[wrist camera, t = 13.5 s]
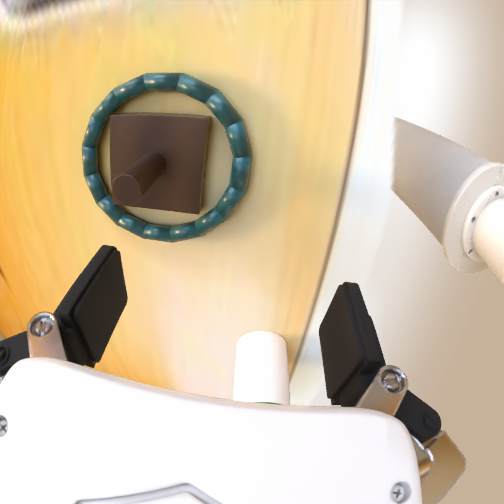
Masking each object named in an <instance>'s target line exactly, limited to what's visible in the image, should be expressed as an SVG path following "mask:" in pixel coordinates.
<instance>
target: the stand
mask: <svg viewBox="0 0 504 504" xmlns="http://www.w3.org/2000/svg"><path fill="white" fill-rule="evenodd" d="M210 118H211V117H210V116H201V115H188V114H171V113H115V114H112V115H110V168H111V187H112V201H113V205H123V206H132V207H141V208H150V209H159V210H167V211H175V212H184V213H191V214H199V213H200V211H201V208H202V198H203V186H204V175H205V164H206V154H207V144H208V135H209V127H210Z"/></svg>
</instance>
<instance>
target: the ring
mask: <svg viewBox="0 0 504 504" xmlns="http://www.w3.org/2000/svg"><path fill="white" fill-rule="evenodd" d="M148 90H166V91H179V92H181V93H184V94H186V95H188V96H190V97H192V98H194V99H196V100H198V101H200V102H202V103H204V104H206V105H207V107H208V108H209V109H210V110H211V111H212V113H213V114H214V115H215V116H216V117H217V119H218V120H219V121H220V122H221V123H222V125H223V126H224V127H225V129H226V133H227V136H228V140H229V143H230V147H231V150H232V153H233V162H232V170H231V178H230V184H229V186H228V188H227V189H226V191H225V192H224V194H223V196H222V197H221V199H220V201H219V202H218V204H217V206H216V207H215V208H213V209H212V210H210V211H209V212H208V213H206V214H205V215H203V216H202V217H201V218H199V219H198V220H196V221H193V222H189V223H185V224H181V225H177V226H173V227H171V226H163V225H155V224H148V223H146V222H144V221H142V220H140V219H138V218H136V217H134V216H132V215H130V214H128V213H126V212H125V211H124V210H123V209H122V208H121V207H120V206H119V205H113V201H112V197H111V196H110V195H109V194H108V192H107V190H106V187H105V185H104V183H103V180H102V178H101V176H100V173H99V171H98V152H97V145H98V142H99V139H100V136H101V133H102V130H103V127H104V125H105V122H106V120H107V119H108V118H109V117H110V115H112V114H113V112H114V111H115V110H116V109H117V108H118V107H119V106H120V105H121V104H122V103H123V102H124V101H126V100H128V99H130V98H132V97H135V96H137V95H139V94H141V93H144V92H146V91H148ZM82 157H83V171H84V177H85V180H86V182H87V184H88V186H89V189H90V191H91V193H92V195H93V197H94V200H95V202H96V204H97V205H98V206H99V207H100V208H101V209H102V210H103V211H104V212H105V213H106V214H107V215H108V216H109V217H110V218H111V219H112V221H113V222H114V223H115V224H116V225H118V226H120V227H122V228H124V229H126V230H127V231H129V232H131V233H133V234H135V235H137V236H139V237H141V238H144V239H150V240H158V241H165V242H178V241H182V240H187V239H191V238H196V237H200V236H203V235H205V234H206V233H208V232H209V231H211V230H212V229H213V228H215V227H216V226H218V225H219V224H221V223H222V222H224V221H225V220H227V219H228V218H229V217H230V215H231V214H232V212H233V211H234V209H235V208H236V206H237V204H238V203H239V201H240V200H241V198H242V197H243V195H244V194H245V192H246V190H247V186H248V179H249V173H250V167H251V160H252V152H251V148H250V144H249V141H248V137H247V133H246V129H245V126H244V122H243V119H242V118H241V116H240V115H239V114H238V113H237V111H236V110H235V109H234V108H233V107H232V105H231V104H230V103H229V102H228V100H227V99H226V98H225V97H224V96H223V94H222V93H221V92H220V91H219V90H218V89H216V88H214V87H212V86H210V85H208V84H206V83H204V82H202V81H200V80H198V79H196V78H193V77H191V76H189V75H187V74H184V73H146V74H144V75H141V76H139V77H137V78H135V79H132V80H130V81H128V82H126V83H124V84H122V85H120V86H118V87H116V88H114V89H113V90H112V91H111V92H110V94H109V95H108V96H107V97H106V98H105V99H104V100H103V101H102V103H101V104H100V105H99V106H98V107H97V109H96V110H95V111H94V112H93V113H92V115H91V118H90V121H89V124H88V127H87V130H86V133H85V136H84V140H83V143H82Z"/></svg>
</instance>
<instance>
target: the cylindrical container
mask: <svg viewBox="0 0 504 504" xmlns="http://www.w3.org/2000/svg"><path fill="white" fill-rule="evenodd" d="M233 400H237V401H246V402H255V403H266V404H279V405H290V391H289V374H288V359H287V345H286V341H285V340H284V339H283V338H282V337H281V336H280V335H278V334H275V333H272V332H266V331H258V332H252V333H249V334H246V335H244V336H243V337H241V338H240V339H239V341H238V343H237V354H236V368H235V382H234V396H233Z"/></svg>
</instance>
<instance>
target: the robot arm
mask: <svg viewBox="0 0 504 504" xmlns="http://www.w3.org/2000/svg"><path fill="white" fill-rule="evenodd" d="M461 240H462V247H463V250H464V252H465V254H466V255H467V256H468V257H469V258H470V259H471V260H472V261H474V262H486V264H487V265H488V266H489V267H490V268H491V270H492V271H493V272H494V273H495V275H496V276H497V277H498V279H499V280H500V281H501V283H502V284H503V285H504V186H502V185H496V186H493V187H490V188H489V189H487V190H486V191H484V192H483V193H482V194H481V195H480V196H479V197H478V198H477V199H476V201H475V202H474V203H473V205H472V207H471V208H470V210H469V212H468V214H467V216H466V219H465V222H464V225H463V230H462V238H461ZM127 298H128V297H127V291H126V286H125V280H124V274H123V268H122V262H121V255H120V252H119V251H117V248H116V247H114V246H108V245H103V246H102V247H101V248H100V249H99V250H98V252H97V253H96V254H95V256H94V257H93V258H92V260H91V261H90V262H89V264H88V265H87V266H86V268H85V269H84V270H83V272H82V273H81V274H80V275H79V277H78V278H77V279H76V281H75V282H74V284H73V285H72V287H71V288H70V289H69V291H68V292H67V294H66V295H65V297H64V298H63V300H62V301H61V303H60V304H59V306H58V307H57V309H56V310H55V312H54V314H52V313H50V312H40V313H37V314H35V315H34V316H33V317H32V318H31V319H30V320H29V322H28V324H27V331H25V332H22V333H20V334H17V335H15V336H12V337H10V338H7V339H5V340H2V341H0V504H437V503H438V502H439V501H440V500H441V499H442V498H443V497H444V496H445V495H446V493H447V492H448V491H449V490H450V489H451V488H452V486H453V485H454V484H455V483H456V481H457V480H458V479H459V478H460V476H461V475H462V474H463V472H464V470H465V468H466V459H465V457H464V455H463V454H462V452H461V451H460V450H459V448H458V447H457V446H456V444H455V443H454V442H453V440H452V439H451V438H450V436H449V435H448V434H447V432H446V431H445V430H444V431H442V430H441V419H440V416H439V415H438V413H437V412H436V411H435V410H434V409H432V408H431V407H430V406H429V405H427V404H426V403H425V402H423V401H422V400H421V399H419V398H418V397H417V396H415V395H414V394H413V393H411V392H410V391H409V390H407V388H408V379H407V377H406V375H405V373H404V372H403V371H402V370H400V368H398V367H396V366H392V365H387V366H386V364H385V360H384V357H383V353H382V350H381V347H380V344H379V340H378V337H377V334H376V330H375V327H374V324H373V321H372V318H371V317H370V316H369V315H368V311H367V309H366V306H365V303H364V300H363V297H362V294H361V291H360V288H359V285H358V284H357V283H350V282H344V283H343V285H339V286H338V288H337V291H336V293H335V295H334V297H333V299H332V302H331V304H330V306H329V308H328V310H327V312H326V315H325V317H324V319H323V321H322V323H321V325H320V328H319V337H320V344H321V351H322V359H323V366H324V374H325V382H326V390H327V397H328V398H329V399H331V403H332V405H341V407H327V406H298V405H279V404H266V403H255V402H246V401H237V400H229V399H222V398H215V397H208V396H202V395H196V394H191V393H185V392H180V391H175V390H170V389H166V388H161V387H157V386H152V385H148V384H144V383H140V382H136V381H132V380H129V379H125V378H121V377H118V376H114V375H111V374H107V373H104V372H101V371H97V370H94V369H91V368H88V367H85V366H84V365H86V366H89V367H92V368H94V366H95V364H96V362H97V363H98V362H99V361H100V360H101V357H102V355H103V353H104V351H105V348H106V346H107V344H108V342H109V339H110V337H111V335H112V333H113V331H114V329H115V326H116V324H117V322H118V320H119V318H120V316H121V314H122V312H123V310H124V308H125V306H126V303H127Z"/></svg>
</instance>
